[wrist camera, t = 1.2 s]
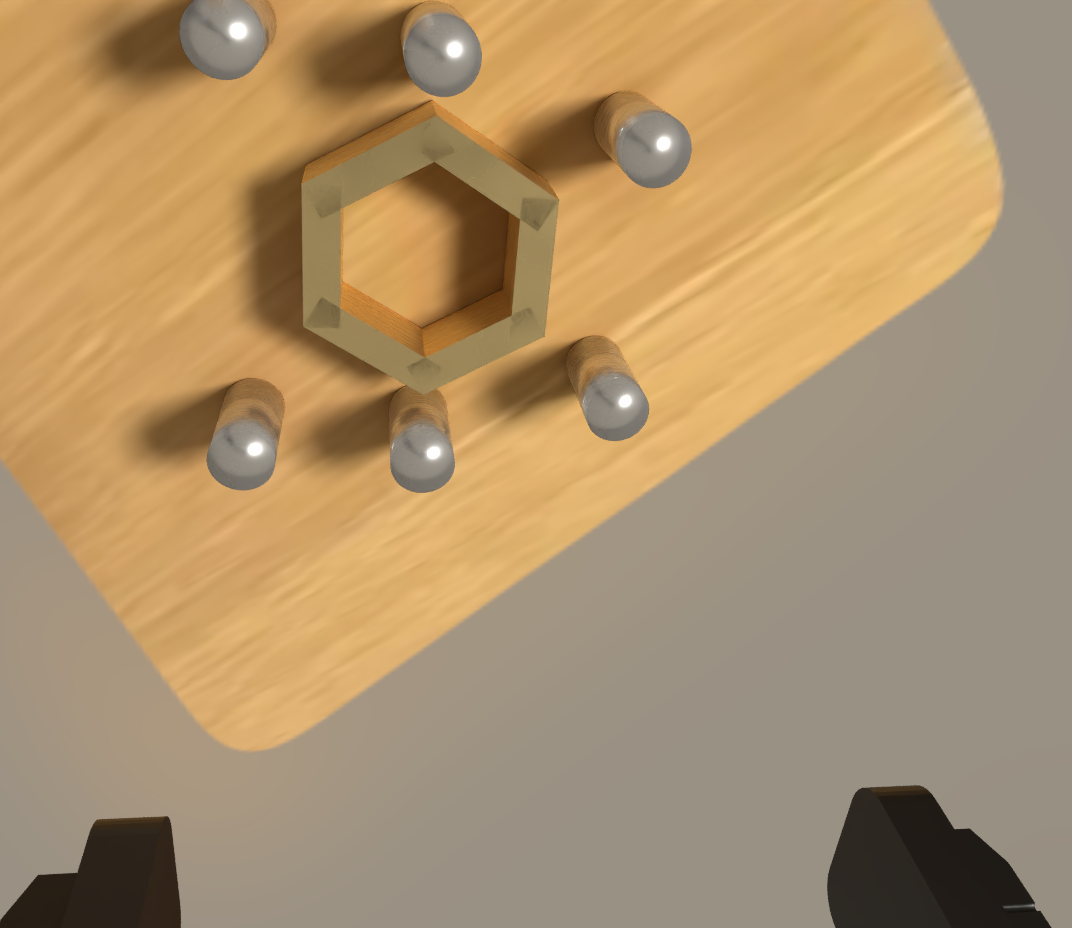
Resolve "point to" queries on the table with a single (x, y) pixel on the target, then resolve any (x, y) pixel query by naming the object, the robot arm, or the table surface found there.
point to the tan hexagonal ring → (467, 332)
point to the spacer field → (414, 419)
